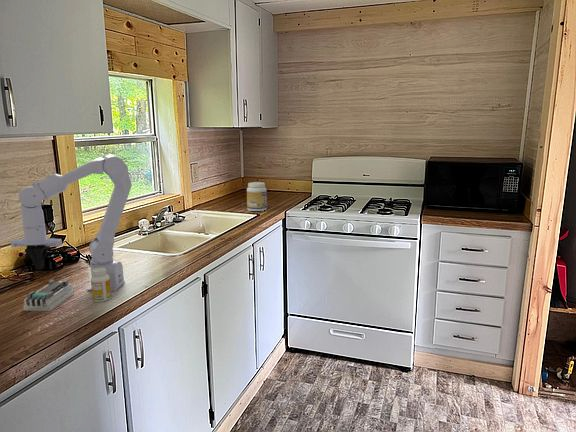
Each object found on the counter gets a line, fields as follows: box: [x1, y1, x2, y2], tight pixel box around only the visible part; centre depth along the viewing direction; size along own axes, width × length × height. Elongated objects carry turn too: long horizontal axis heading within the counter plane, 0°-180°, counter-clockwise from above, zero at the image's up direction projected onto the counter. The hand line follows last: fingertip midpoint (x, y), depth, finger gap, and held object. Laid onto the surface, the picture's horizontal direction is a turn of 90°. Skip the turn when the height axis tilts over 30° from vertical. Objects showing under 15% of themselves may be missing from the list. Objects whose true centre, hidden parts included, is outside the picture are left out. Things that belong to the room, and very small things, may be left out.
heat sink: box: [22, 279, 75, 312], centre depth 133 cm, size 13×8×5 cm, turn 177°
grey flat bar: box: [32, 281, 63, 298], centre depth 134 cm, size 11×4×1 cm, turn 177°
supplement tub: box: [246, 181, 268, 212], centre depth 266 cm, size 12×12×17 cm
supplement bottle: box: [90, 267, 112, 303], centre depth 135 cm, size 5×5×10 cm
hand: (40, 268), depth 135 cm, fingers closed
